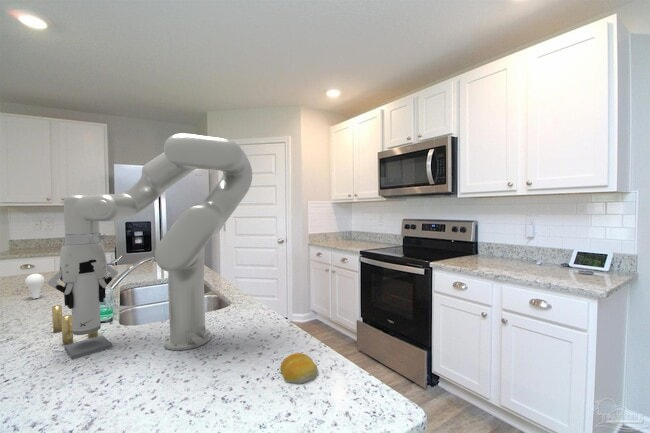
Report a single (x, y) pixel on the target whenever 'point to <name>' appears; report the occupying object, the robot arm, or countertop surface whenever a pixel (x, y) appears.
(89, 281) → the travel mug
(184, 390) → the countertop surface
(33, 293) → the lightbulb
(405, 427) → the countertop surface
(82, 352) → the mat
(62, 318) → the spacer posts
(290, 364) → the bread roll
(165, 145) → the robot arm
